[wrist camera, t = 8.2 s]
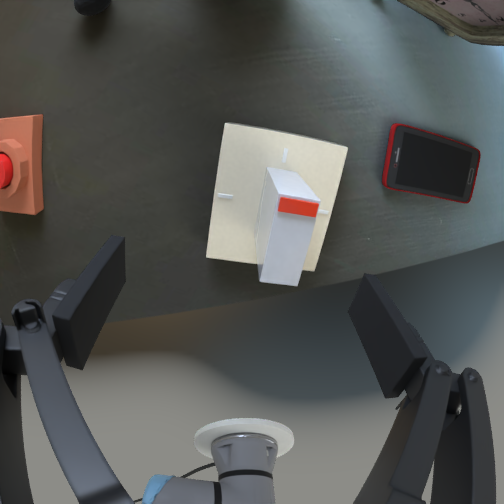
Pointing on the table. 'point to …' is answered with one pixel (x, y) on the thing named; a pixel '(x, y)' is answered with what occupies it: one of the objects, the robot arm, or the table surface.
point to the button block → (22, 164)
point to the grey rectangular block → (284, 226)
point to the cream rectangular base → (251, 183)
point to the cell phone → (429, 164)
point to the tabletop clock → (465, 18)
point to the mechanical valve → (90, 6)
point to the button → (5, 170)
